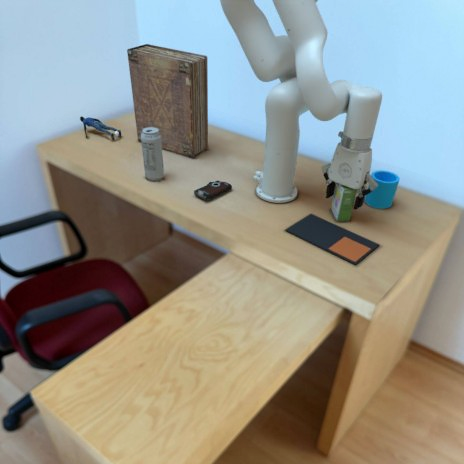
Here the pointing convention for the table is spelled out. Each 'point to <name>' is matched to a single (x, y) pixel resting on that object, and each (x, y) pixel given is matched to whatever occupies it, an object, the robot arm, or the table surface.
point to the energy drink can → (152, 153)
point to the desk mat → (333, 238)
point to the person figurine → (99, 126)
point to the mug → (383, 189)
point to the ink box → (343, 202)
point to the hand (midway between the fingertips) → (343, 202)
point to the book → (171, 96)
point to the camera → (212, 190)
